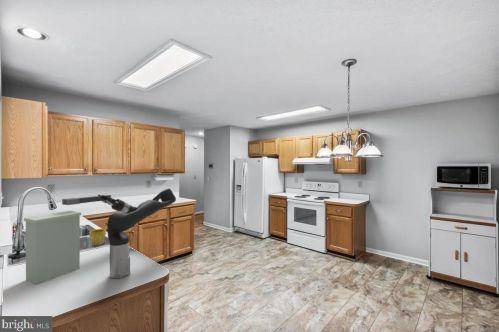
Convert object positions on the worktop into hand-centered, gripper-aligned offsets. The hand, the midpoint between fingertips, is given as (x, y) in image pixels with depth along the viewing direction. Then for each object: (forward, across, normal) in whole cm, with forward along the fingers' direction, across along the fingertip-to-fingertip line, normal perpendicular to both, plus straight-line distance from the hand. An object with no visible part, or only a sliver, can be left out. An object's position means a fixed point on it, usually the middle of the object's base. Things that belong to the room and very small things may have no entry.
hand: (99, 196), depth 152 cm
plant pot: (-32, +25, -26) cm, 48 cm away
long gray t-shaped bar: (+4, 0, -6) cm, 7 cm away
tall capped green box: (+2, -2, -47) cm, 47 cm away
